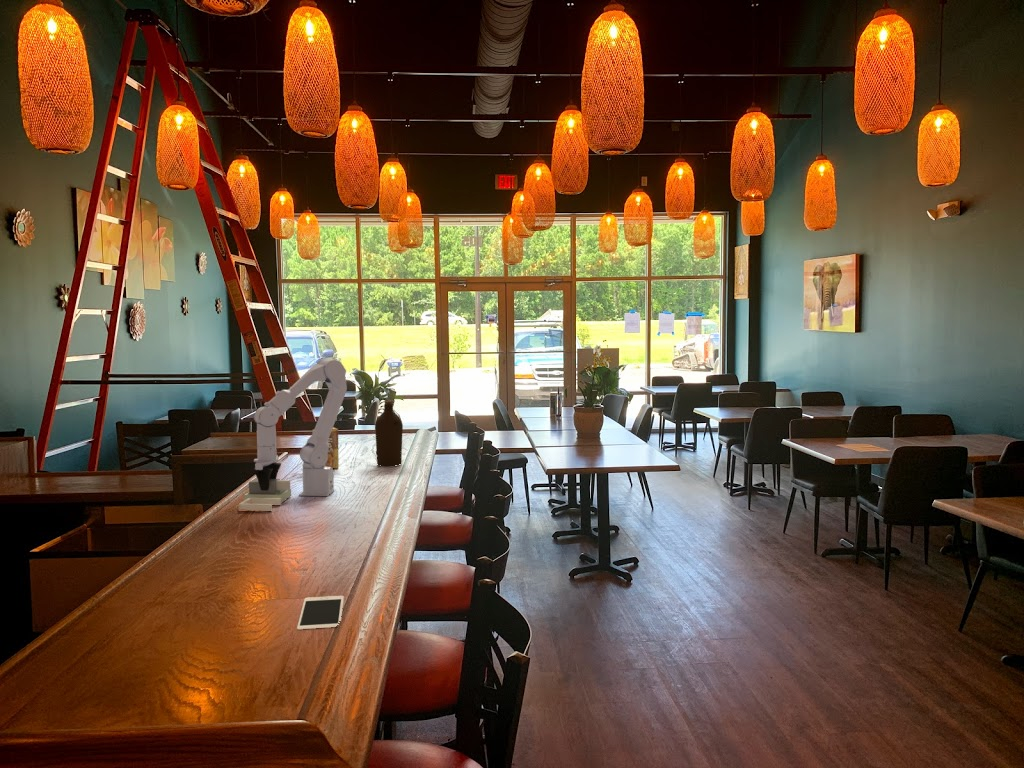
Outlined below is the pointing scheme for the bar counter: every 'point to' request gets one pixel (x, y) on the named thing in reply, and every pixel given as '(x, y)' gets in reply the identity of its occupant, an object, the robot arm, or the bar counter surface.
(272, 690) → the bar counter surface
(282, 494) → the tray
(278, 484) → the block on a stick
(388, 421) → the olive oil
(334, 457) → the candy box
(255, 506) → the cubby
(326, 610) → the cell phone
